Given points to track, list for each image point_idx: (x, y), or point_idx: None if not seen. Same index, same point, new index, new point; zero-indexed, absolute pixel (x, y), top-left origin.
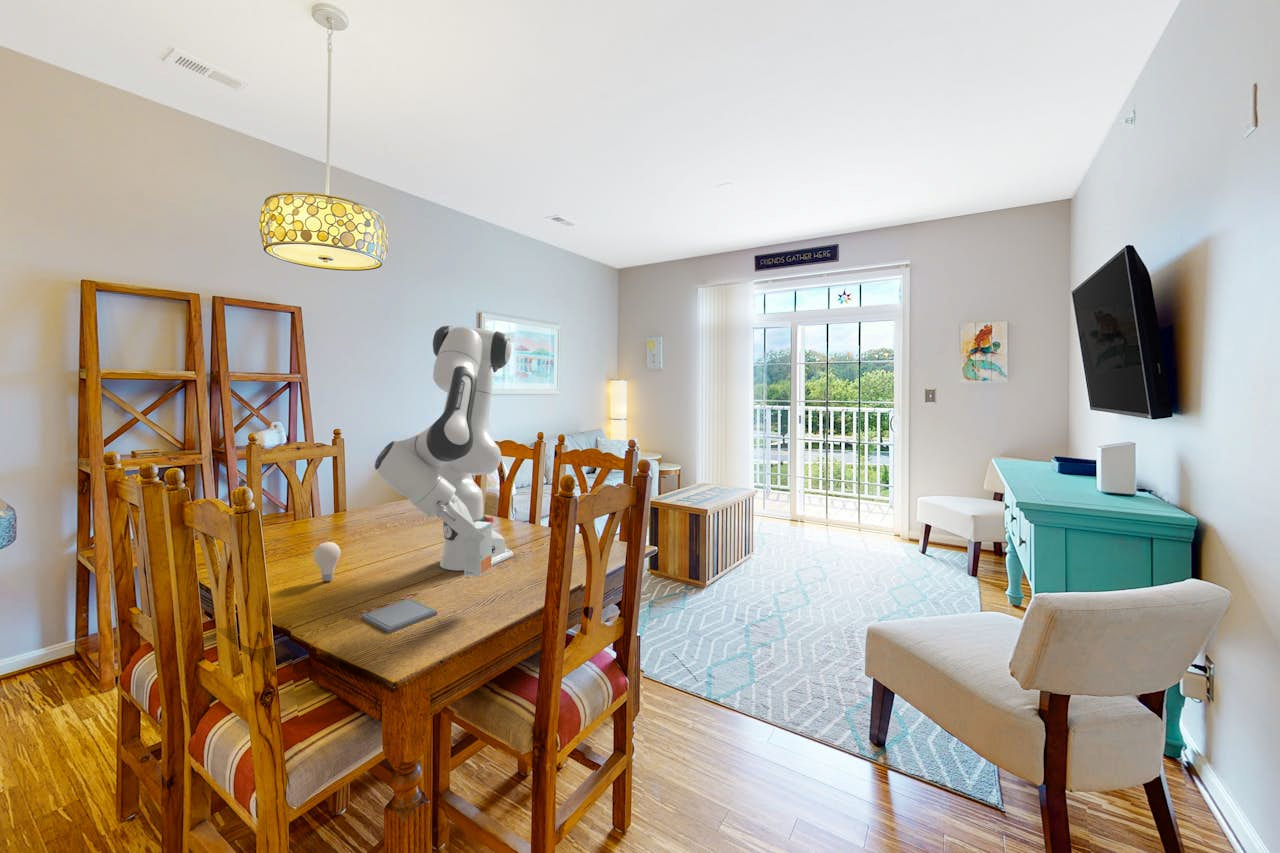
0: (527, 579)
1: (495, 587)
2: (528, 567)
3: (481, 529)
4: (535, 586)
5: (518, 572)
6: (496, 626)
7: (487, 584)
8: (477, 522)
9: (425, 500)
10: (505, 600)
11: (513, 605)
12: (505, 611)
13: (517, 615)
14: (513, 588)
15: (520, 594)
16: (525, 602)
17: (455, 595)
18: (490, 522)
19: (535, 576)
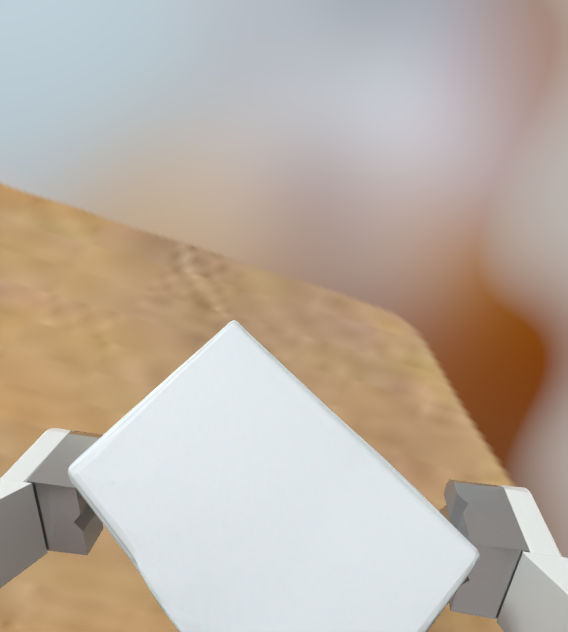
0: (122, 255)
1: (126, 383)
2: (11, 219)
3: (433, 506)
4: (203, 250)
5: (34, 264)
6: (498, 481)
7: (76, 403)
8: (146, 491)
9: None
10: None
11: (334, 369)
12: (375, 411)
13: (430, 381)
14: (176, 324)
15: (247, 317)
16: (328, 322)
17: (110, 564)
18: (234, 330)
19: (112, 223)
